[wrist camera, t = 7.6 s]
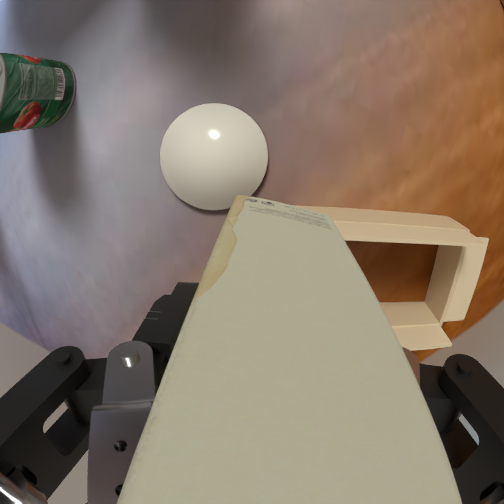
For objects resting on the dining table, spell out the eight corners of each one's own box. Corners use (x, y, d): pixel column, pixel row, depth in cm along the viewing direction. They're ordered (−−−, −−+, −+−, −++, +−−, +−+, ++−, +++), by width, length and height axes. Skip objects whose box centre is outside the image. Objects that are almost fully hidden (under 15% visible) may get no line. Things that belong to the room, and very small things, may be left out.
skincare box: (235, 191, 13) (85, 495, 2) (335, 214, 13) (483, 501, 2) (212, 311, 15) (143, 555, 4) (296, 329, 15) (308, 573, 4)
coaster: (268, 103, 25) (268, 102, 24) (267, 209, 28) (266, 211, 28) (161, 107, 25) (158, 107, 25) (165, 208, 29) (163, 210, 28)
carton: (467, 218, 27) (510, 245, 20) (445, 304, 31) (475, 343, 24) (261, 204, 28) (257, 232, 21) (259, 304, 33) (255, 354, 25)
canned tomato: (42, 140, 27) (-28, 156, 16) (21, 93, 24) (-45, 96, 14) (87, 96, 25) (13, 94, 15) (63, 47, 22) (-5, 34, 12)
